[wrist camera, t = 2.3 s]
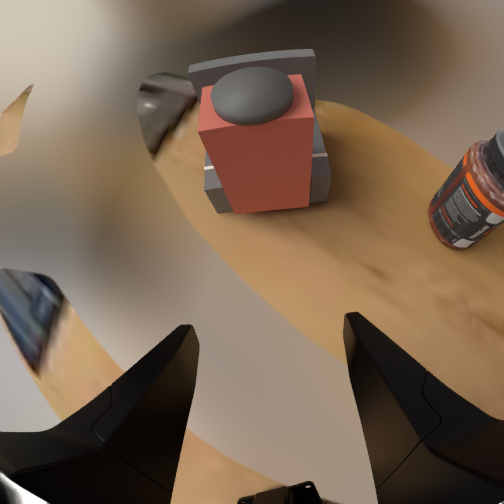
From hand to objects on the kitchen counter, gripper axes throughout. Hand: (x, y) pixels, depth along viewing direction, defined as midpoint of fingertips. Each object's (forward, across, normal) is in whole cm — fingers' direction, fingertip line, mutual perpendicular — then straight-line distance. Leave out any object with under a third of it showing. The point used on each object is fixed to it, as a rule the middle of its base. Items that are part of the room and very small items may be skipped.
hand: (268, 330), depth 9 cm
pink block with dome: (+16, 0, -1) cm, 16 cm away
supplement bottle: (+15, -17, +3) cm, 23 cm away
